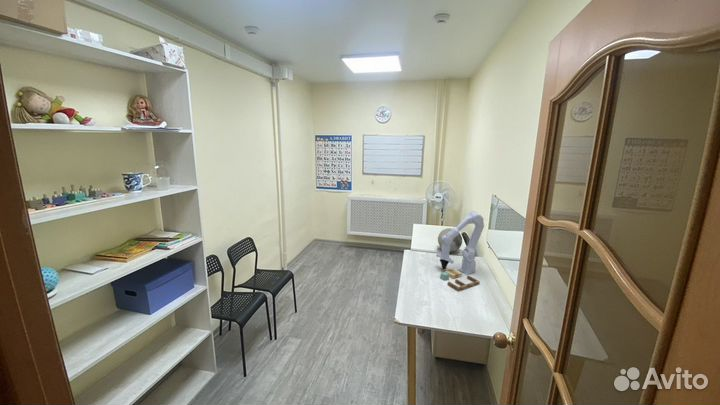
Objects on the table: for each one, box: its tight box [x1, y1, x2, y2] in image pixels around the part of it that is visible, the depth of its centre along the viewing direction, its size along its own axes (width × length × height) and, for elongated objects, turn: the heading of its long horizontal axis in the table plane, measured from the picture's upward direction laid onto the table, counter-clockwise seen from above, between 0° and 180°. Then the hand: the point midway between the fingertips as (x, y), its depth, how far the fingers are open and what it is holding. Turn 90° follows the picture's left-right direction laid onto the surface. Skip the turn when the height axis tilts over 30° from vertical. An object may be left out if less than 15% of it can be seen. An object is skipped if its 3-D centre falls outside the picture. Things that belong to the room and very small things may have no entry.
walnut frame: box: [447, 275, 481, 292], centre depth 179 cm, size 20×9×2 cm, turn 119°
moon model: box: [437, 227, 463, 253], centre depth 234 cm, size 20×20×20 cm
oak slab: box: [444, 268, 463, 280], centre depth 192 cm, size 8×8×3 cm
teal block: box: [440, 271, 450, 282], centre depth 186 cm, size 4×4×4 cm
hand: (444, 268), depth 199 cm, fingers closed
